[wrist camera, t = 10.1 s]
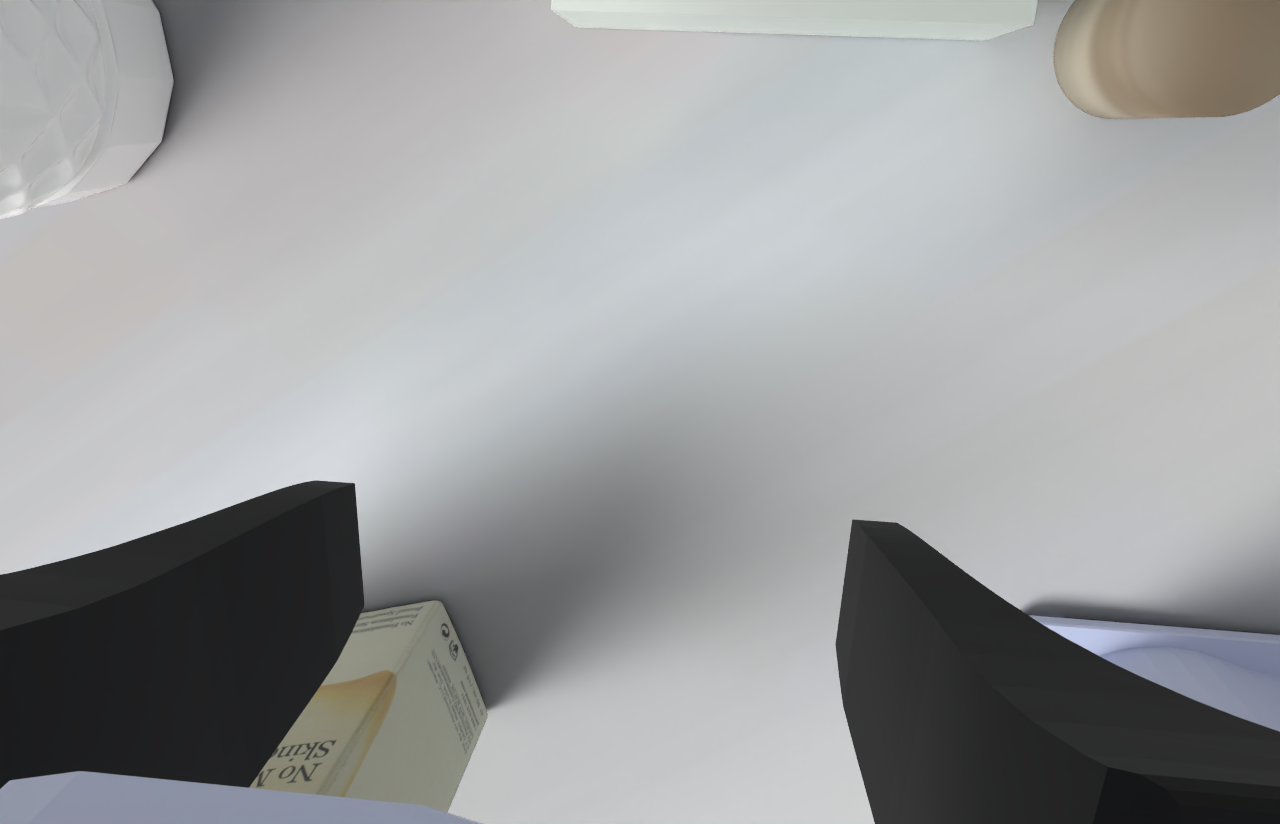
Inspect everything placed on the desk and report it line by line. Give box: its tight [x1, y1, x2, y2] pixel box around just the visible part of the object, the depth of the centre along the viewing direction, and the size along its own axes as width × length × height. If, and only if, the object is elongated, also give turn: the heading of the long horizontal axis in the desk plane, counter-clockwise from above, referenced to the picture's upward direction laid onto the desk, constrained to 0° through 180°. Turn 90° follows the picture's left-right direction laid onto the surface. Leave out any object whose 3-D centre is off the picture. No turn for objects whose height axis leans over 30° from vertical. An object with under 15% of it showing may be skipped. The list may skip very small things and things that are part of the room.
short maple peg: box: [1054, 0, 1280, 119], centre depth 16 cm, size 3×3×4 cm
